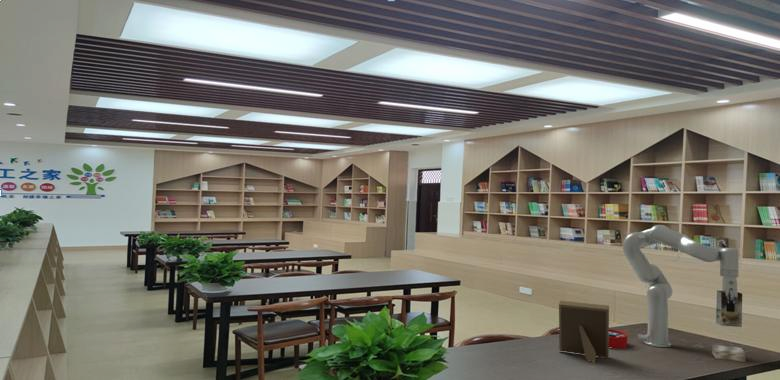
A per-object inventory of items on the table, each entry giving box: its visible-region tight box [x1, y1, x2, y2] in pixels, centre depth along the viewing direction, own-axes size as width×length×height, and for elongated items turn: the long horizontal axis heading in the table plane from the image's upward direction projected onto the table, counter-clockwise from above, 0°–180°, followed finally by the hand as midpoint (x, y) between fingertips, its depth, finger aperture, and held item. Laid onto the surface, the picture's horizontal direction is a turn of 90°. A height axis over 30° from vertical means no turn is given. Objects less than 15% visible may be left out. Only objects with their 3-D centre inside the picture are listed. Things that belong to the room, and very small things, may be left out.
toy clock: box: [609, 328, 628, 349], centre depth 274 cm, size 20×6×20 cm
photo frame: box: [558, 300, 610, 363], centre depth 246 cm, size 15×22×25 cm
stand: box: [711, 344, 747, 363], centre depth 254 cm, size 12×11×4 cm
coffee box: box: [715, 290, 743, 328], centre depth 255 cm, size 9×6×16 cm
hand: (729, 310), depth 255 cm, fingers closed on coffee box, 7 cm apart
